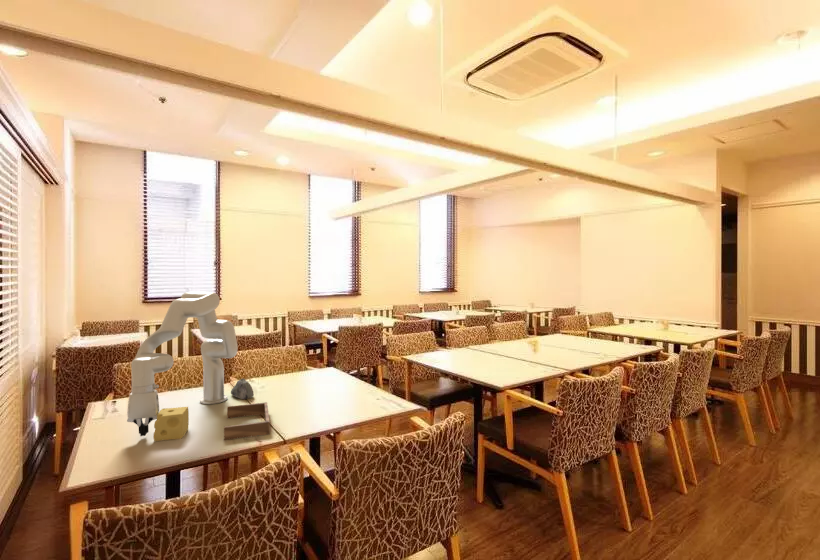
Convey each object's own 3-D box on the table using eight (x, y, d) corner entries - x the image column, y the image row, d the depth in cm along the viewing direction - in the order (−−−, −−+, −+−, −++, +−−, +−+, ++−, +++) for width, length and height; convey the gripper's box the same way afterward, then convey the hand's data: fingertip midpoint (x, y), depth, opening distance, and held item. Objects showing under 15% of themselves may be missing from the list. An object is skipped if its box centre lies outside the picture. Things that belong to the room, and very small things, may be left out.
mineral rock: (230, 394, 218) (230, 376, 217) (251, 392, 223) (251, 373, 222) (231, 401, 206) (231, 382, 206) (254, 398, 211) (254, 379, 211)
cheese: (153, 441, 157) (153, 416, 157) (162, 431, 168) (162, 407, 168) (183, 439, 160) (182, 414, 160) (190, 428, 171) (189, 405, 170)
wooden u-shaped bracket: (227, 417, 184) (227, 406, 183) (267, 412, 190) (267, 402, 190) (224, 440, 159) (223, 427, 159) (269, 434, 165) (269, 421, 165)
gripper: (166, 384, 166) (167, 428, 167) (123, 388, 161) (124, 434, 161) (163, 389, 159) (163, 435, 160) (117, 393, 154) (118, 441, 154)
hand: (143, 434), depth 160 cm, fingers closed
